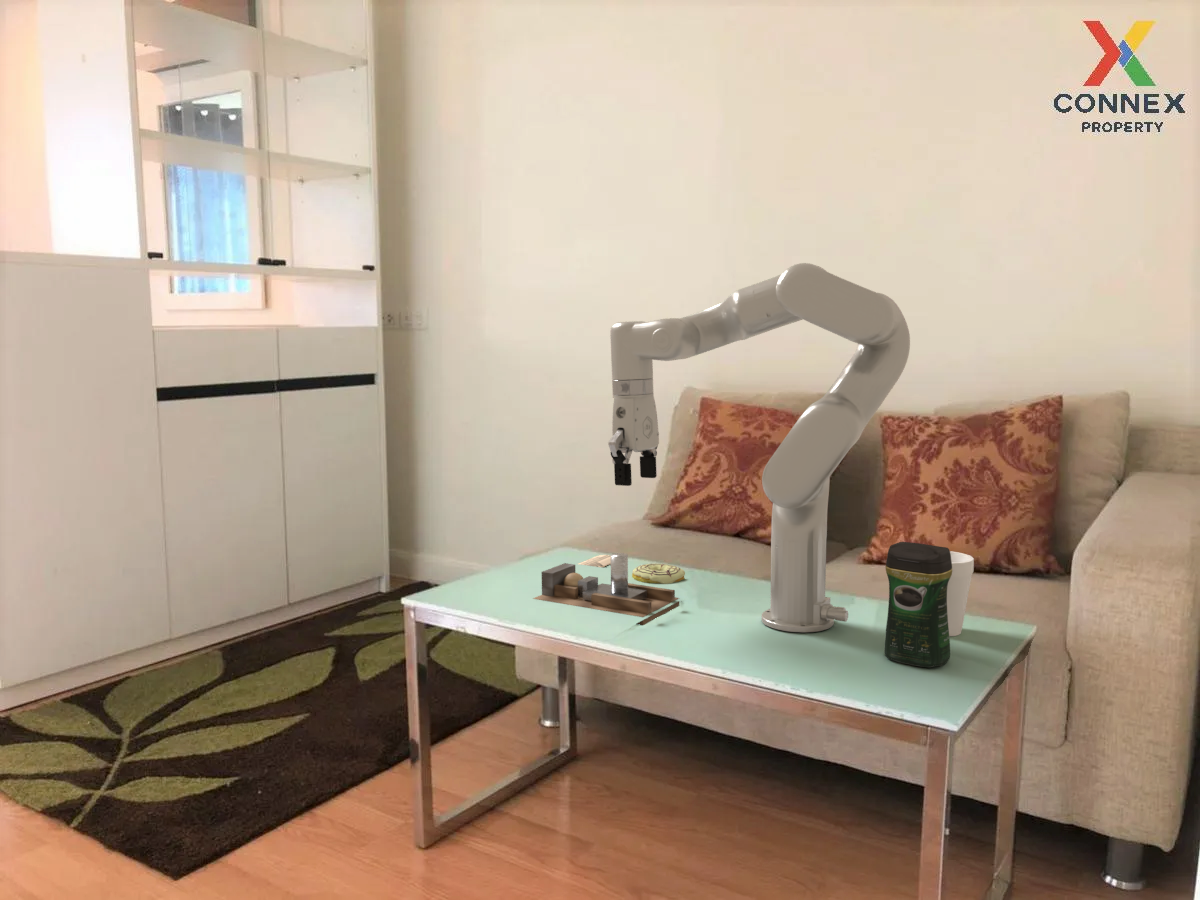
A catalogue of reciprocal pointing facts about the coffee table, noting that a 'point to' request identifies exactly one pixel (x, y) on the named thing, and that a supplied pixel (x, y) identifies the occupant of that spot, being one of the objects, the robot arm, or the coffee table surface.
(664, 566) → the decorated donut
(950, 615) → the foam cup
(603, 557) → the newspaper
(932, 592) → the coffee jar
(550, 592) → the brown piece
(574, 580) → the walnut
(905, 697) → the coffee table surface
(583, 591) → the ram
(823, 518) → the robot arm
